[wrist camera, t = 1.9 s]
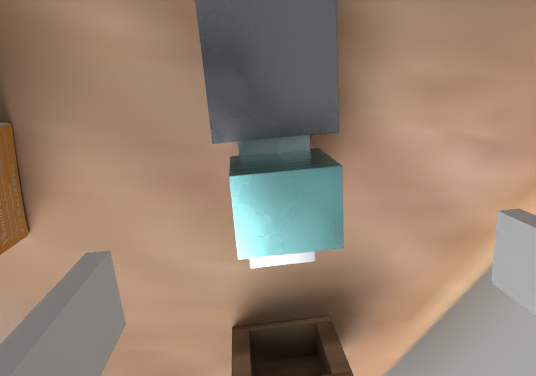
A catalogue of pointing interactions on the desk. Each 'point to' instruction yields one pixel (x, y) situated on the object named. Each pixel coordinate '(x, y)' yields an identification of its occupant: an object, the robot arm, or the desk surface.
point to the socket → (289, 349)
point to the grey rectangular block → (269, 67)
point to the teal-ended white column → (285, 201)
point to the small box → (10, 193)
